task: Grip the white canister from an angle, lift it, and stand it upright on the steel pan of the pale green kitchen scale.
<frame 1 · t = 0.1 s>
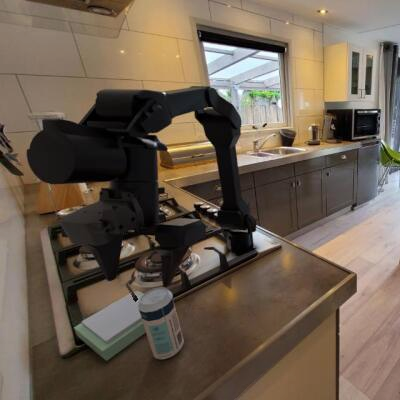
hand: (139, 283, 38), 15 cm above the countertop, tool pointing down, fingers open, 9 cm apart
kitchen scale: (125, 325, 49), on the countertop
white canister: (169, 349, 45), on the countertop
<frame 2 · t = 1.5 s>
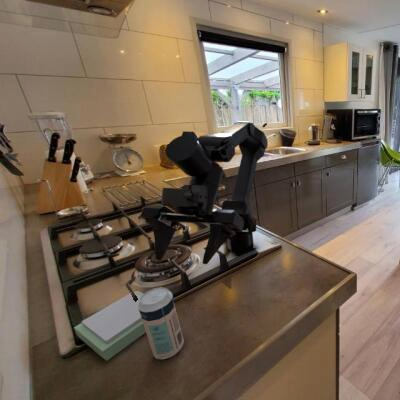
hand: (181, 262, 47), 13 cm above the countertop, tool tilted 45°, fingers open, 9 cm apart
nothing on the countertop moved.
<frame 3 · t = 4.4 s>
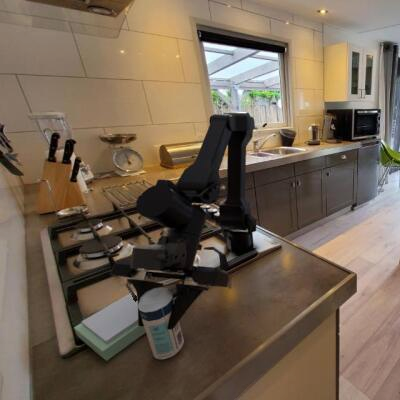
hand: (155, 327, 41), 7 cm above the countertop, tool tilted 45°, fingers closed on white canister, 5 cm apart
white canister: (169, 349, 45), on the countertop, touching gripper
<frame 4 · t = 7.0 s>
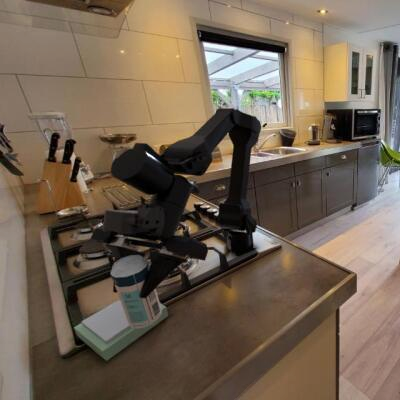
hand: (129, 295, 40), 12 cm above the countertop, tool tilted 45°, fingers closed on white canister, 5 cm apart
white canister: (146, 319, 44), point 5 cm above the countertop, touching gripper
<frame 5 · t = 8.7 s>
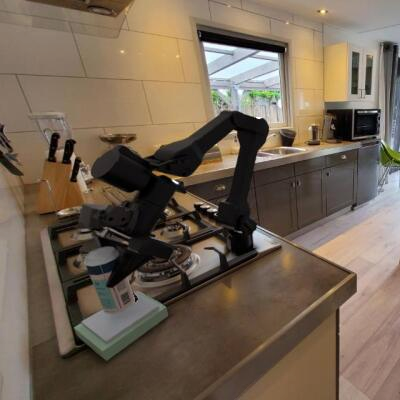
hand: (101, 282, 44), 11 cm above the countertop, tool tilted 45°, fingers closed on white canister, 5 cm apart
white canister: (120, 306, 48), point 5 cm above the countertop, touching gripper
when the fingers open (10 cm above the countertop, at t = 9.7 s): white canister stays where it is, resting on kitchen scale.
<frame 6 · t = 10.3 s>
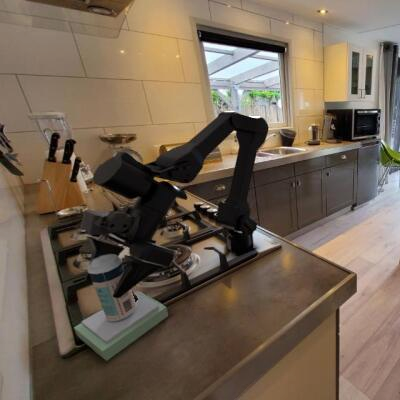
hand: (101, 288, 44), 10 cm above the countertop, tool tilted 45°, fingers open, 9 cm apart
white canister: (122, 313, 48), point 3 cm above the countertop, touching kitchen scale
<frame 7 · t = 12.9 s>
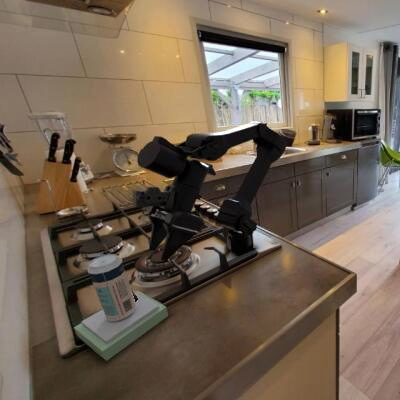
hand: (157, 254, 53), 11 cm above the countertop, tool tilted 35°, fingers open, 9 cm apart
nothing on the countertop moved.
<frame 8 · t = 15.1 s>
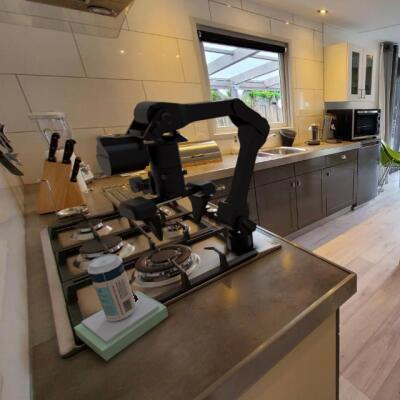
hand: (180, 231, 58), 13 cm above the countertop, tool pointing down, fingers open, 9 cm apart
nothing on the countertop moved.
at the end: white canister inside the target area on the kitchen scale (0.2 cm from its centre), point 3.0 cm above the kitchen scale's base; white canister tilted 0°; the gripper is holding nothing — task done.
